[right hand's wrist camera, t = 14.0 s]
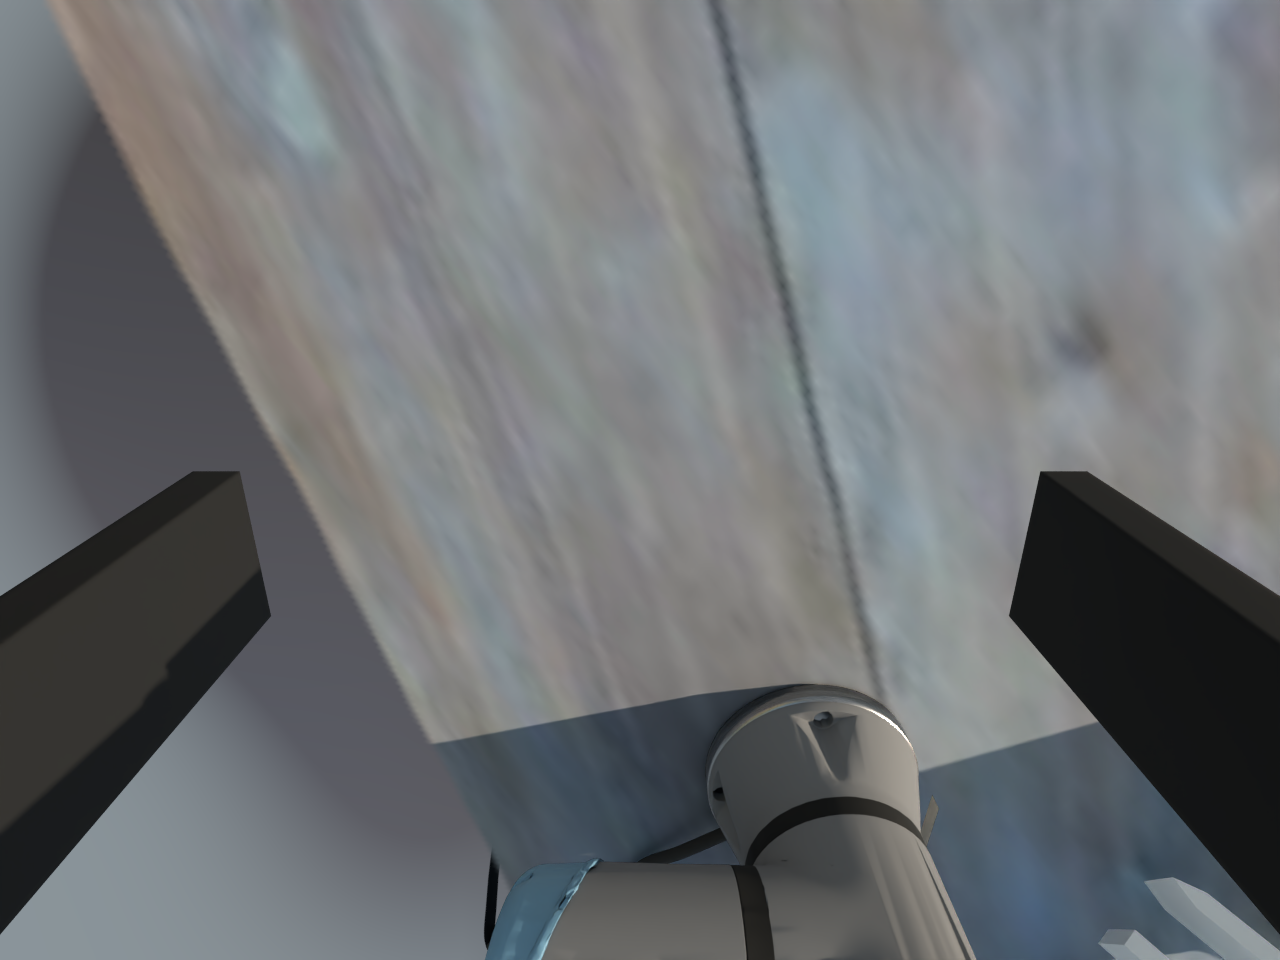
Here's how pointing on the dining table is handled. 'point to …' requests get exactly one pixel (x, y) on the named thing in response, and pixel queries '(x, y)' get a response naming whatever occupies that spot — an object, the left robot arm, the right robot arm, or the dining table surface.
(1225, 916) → the white plastic object
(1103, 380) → the dining table surface
